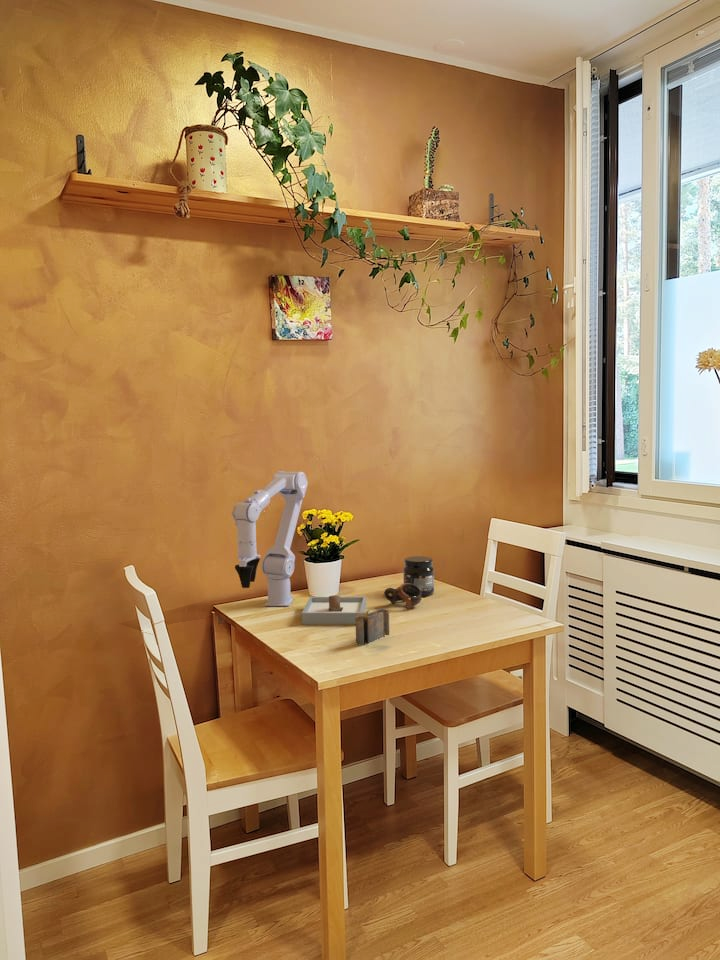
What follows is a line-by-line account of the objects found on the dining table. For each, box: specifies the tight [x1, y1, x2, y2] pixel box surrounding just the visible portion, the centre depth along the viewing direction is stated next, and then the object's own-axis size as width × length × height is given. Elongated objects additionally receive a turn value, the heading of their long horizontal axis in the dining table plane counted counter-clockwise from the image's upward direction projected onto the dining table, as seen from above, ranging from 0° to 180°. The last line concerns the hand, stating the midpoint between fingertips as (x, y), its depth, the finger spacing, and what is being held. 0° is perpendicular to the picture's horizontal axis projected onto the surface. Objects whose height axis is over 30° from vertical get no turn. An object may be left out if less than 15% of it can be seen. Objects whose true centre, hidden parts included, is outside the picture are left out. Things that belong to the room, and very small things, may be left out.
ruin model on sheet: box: [355, 608, 391, 646], centre depth 203 cm, size 11×3×10 cm, turn 139°
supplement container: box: [402, 555, 435, 597], centre depth 250 cm, size 10×10×12 cm
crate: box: [301, 596, 367, 626], centre depth 226 cm, size 18×18×4 cm
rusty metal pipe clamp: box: [383, 582, 422, 610], centre depth 235 cm, size 12×10×8 cm
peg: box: [328, 594, 341, 612], centre depth 226 cm, size 3×3×6 cm
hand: (248, 584), depth 227 cm, fingers open, 7 cm apart
